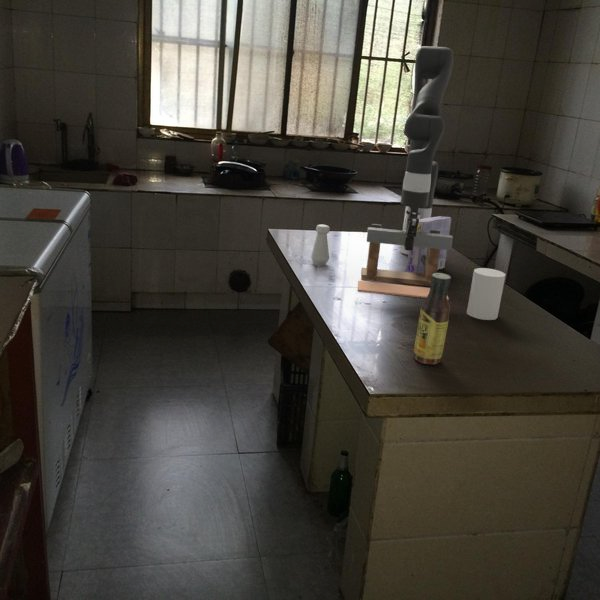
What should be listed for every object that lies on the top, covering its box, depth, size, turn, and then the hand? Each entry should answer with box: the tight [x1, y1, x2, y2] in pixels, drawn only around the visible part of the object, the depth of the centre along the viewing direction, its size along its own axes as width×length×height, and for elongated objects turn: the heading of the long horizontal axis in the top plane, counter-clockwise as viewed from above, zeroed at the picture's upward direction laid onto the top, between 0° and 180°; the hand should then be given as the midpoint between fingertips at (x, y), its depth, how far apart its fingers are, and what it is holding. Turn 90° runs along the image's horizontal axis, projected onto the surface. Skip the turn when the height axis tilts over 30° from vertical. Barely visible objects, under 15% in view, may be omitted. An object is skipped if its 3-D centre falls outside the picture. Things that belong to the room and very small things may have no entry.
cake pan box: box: [405, 215, 452, 274], centre depth 212 cm, size 19×5×18 cm, turn 139°
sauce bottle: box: [413, 272, 452, 366], centre depth 140 cm, size 6×6×20 cm
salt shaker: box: [310, 224, 331, 267], centre depth 210 cm, size 6×6×13 cm
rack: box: [360, 223, 440, 287], centre depth 200 cm, size 24×8×16 cm, turn 85°
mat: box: [357, 280, 450, 301], centre depth 191 cm, size 26×9×1 cm, turn 85°
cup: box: [466, 267, 506, 321], centre depth 175 cm, size 8×8×12 cm
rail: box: [366, 226, 454, 251], centre depth 186 cm, size 24×3×4 cm, turn 85°
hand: (407, 248), depth 187 cm, fingers closed on rail, 3 cm apart
